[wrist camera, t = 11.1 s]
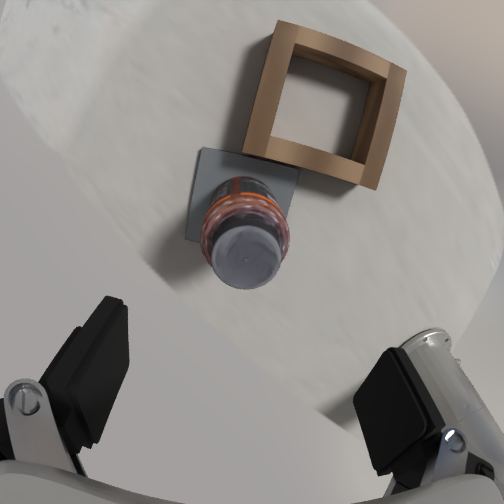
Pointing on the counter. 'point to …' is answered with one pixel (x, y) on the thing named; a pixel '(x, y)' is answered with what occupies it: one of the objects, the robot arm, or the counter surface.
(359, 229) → the counter surface
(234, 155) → the slate coaster
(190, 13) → the counter surface
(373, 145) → the pocket frame
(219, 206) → the supplement bottle
